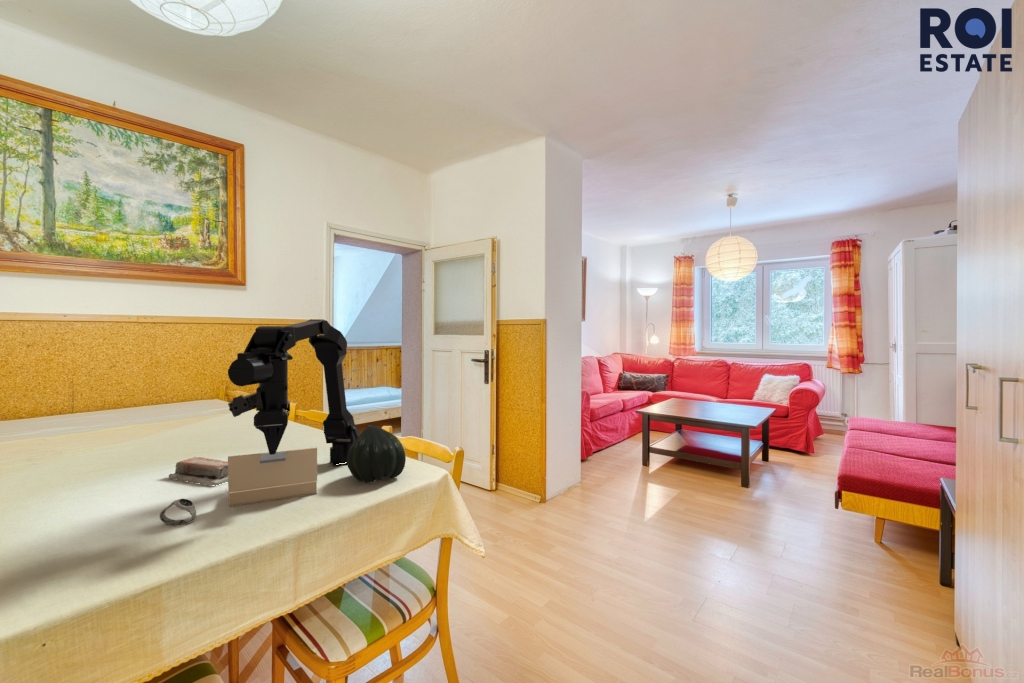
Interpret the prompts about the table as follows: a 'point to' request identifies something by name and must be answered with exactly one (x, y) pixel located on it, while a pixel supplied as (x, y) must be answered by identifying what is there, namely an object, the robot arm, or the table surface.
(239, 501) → the cardboard box
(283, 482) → the lid
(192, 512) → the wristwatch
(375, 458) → the squash
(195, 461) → the packaged product
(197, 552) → the table surface
